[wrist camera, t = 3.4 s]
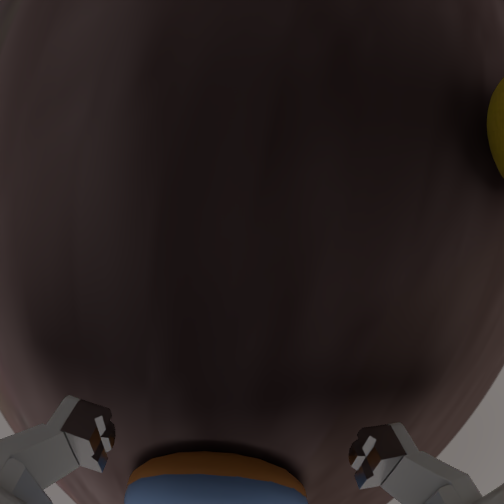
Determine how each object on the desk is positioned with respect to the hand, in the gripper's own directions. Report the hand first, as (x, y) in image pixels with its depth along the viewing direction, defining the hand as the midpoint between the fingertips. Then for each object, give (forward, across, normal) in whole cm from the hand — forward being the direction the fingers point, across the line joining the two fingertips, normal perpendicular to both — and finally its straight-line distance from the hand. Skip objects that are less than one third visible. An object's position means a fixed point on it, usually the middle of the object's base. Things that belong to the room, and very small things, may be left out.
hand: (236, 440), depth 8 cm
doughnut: (+3, 0, +9) cm, 9 cm away
